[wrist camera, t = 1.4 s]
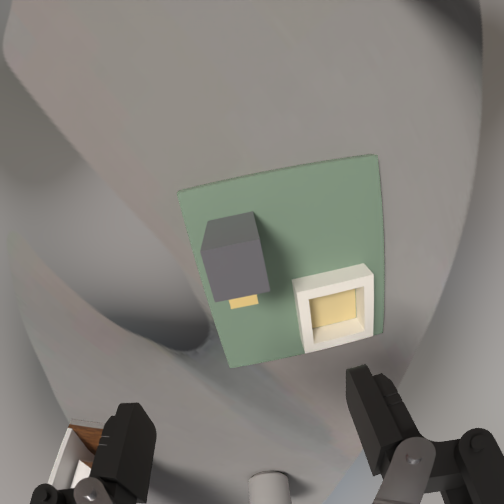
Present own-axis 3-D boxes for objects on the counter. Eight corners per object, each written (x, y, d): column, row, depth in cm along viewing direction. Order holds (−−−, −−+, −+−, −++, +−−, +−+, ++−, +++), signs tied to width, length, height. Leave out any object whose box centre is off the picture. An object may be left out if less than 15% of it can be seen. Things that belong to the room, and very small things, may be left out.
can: (239, 479, 47) (242, 532, 36) (265, 466, 45) (271, 522, 34) (269, 486, 49) (275, 535, 38) (295, 473, 47) (304, 525, 36)
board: (179, 190, 27) (171, 199, 24) (371, 153, 27) (389, 158, 23) (229, 361, 35) (230, 383, 31) (378, 327, 34) (391, 345, 31)
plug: (207, 221, 27) (199, 251, 20) (252, 211, 27) (259, 238, 20) (220, 269, 29) (217, 311, 22) (263, 261, 29) (272, 300, 22)
